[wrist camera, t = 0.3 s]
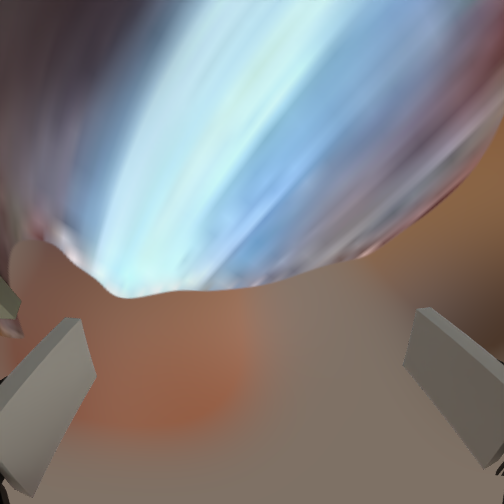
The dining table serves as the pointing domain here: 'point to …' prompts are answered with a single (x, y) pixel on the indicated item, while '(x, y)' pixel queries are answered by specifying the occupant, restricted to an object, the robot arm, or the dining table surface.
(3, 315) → the seat plank
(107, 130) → the dining table surface
